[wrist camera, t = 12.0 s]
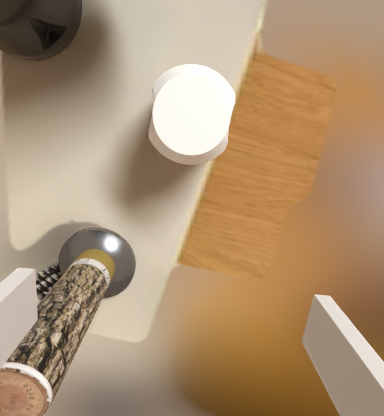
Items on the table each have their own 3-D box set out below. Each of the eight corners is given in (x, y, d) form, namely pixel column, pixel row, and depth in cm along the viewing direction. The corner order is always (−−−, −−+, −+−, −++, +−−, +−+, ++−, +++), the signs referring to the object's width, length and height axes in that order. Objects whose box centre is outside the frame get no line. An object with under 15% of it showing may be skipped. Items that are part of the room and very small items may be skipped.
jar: (164, 72, 43) (151, 46, 28) (228, 82, 43) (248, 63, 29) (155, 150, 46) (139, 164, 31) (214, 159, 46) (226, 177, 32)
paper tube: (73, 276, 51) (-31, 416, 27) (80, 242, 49) (-23, 358, 25) (111, 286, 51) (43, 431, 27) (120, 253, 49) (56, 377, 26)
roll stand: (60, 224, 49) (10, 264, 35) (137, 231, 50) (117, 274, 36) (62, 291, 53) (17, 351, 39) (133, 297, 53) (114, 359, 39)
